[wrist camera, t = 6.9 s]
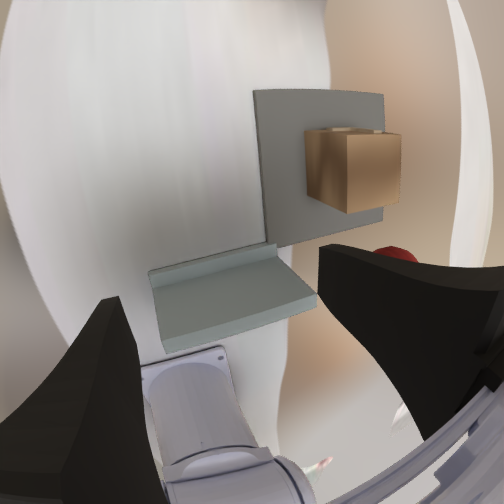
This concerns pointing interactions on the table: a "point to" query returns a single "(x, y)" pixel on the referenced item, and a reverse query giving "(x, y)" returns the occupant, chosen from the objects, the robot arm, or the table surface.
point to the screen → (226, 296)
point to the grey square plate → (294, 162)
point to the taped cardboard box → (353, 167)
